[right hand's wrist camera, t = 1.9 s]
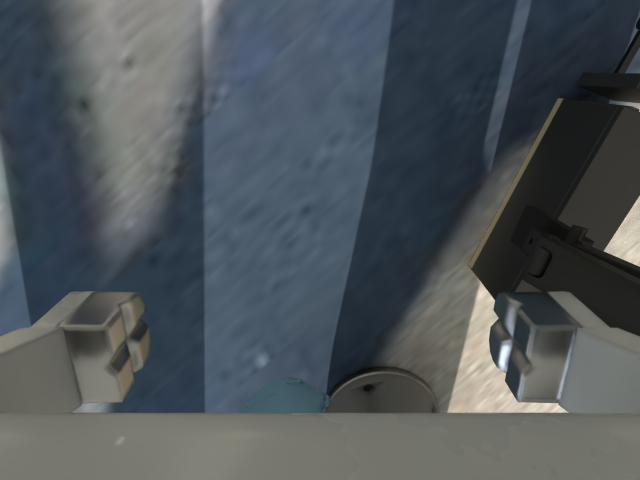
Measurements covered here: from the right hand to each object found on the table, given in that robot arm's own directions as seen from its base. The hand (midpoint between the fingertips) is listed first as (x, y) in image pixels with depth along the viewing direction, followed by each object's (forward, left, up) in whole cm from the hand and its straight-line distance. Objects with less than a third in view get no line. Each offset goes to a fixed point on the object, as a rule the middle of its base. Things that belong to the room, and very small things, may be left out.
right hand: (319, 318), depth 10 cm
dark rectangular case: (+5, +24, -38) cm, 46 cm away
